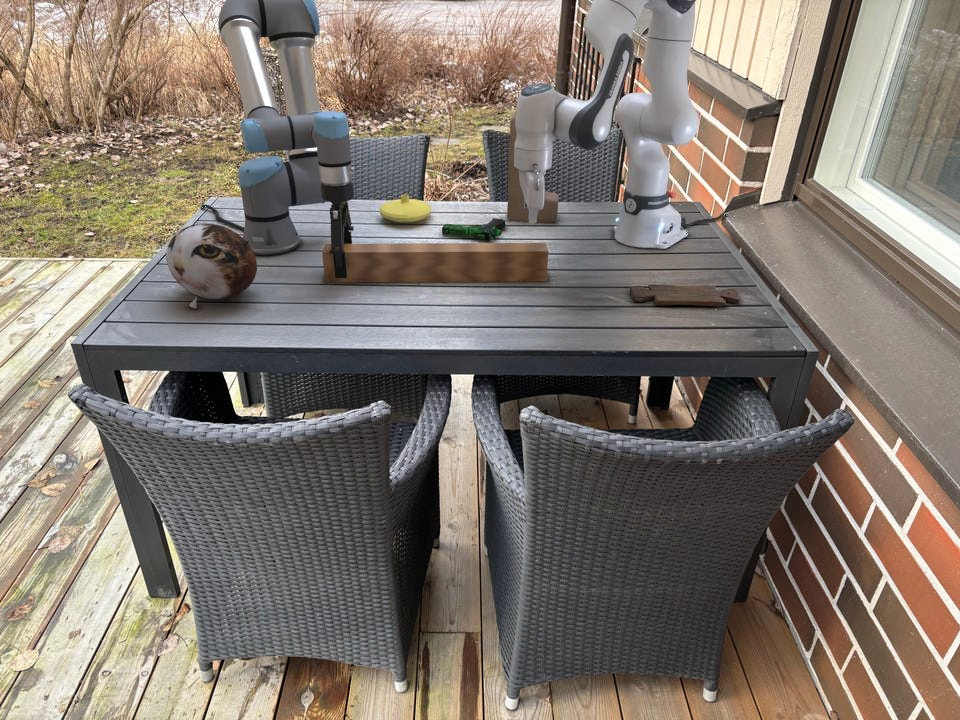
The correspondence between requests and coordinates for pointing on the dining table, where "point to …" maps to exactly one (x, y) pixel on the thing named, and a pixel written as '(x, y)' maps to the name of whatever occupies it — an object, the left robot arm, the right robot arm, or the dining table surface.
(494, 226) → the handgun
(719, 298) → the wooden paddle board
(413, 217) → the yellow knobbed lid
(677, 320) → the dining table surface
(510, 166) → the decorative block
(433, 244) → the bar
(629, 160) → the right robot arm
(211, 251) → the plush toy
